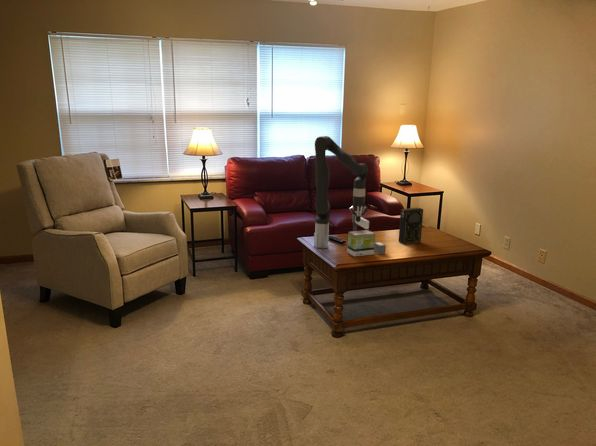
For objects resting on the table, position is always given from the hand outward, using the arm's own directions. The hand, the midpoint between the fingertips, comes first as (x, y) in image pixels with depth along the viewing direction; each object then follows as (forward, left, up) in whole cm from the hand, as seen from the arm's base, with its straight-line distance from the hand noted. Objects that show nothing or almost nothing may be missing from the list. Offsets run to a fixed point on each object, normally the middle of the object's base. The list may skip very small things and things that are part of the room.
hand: (358, 221), depth 299 cm
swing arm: (+4, +4, -4) cm, 7 cm away
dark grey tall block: (+49, +17, -23) cm, 56 cm away
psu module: (+17, +1, -23) cm, 28 cm away
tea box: (+4, +2, -23) cm, 23 cm away
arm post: (+4, +13, -23) cm, 26 cm away
